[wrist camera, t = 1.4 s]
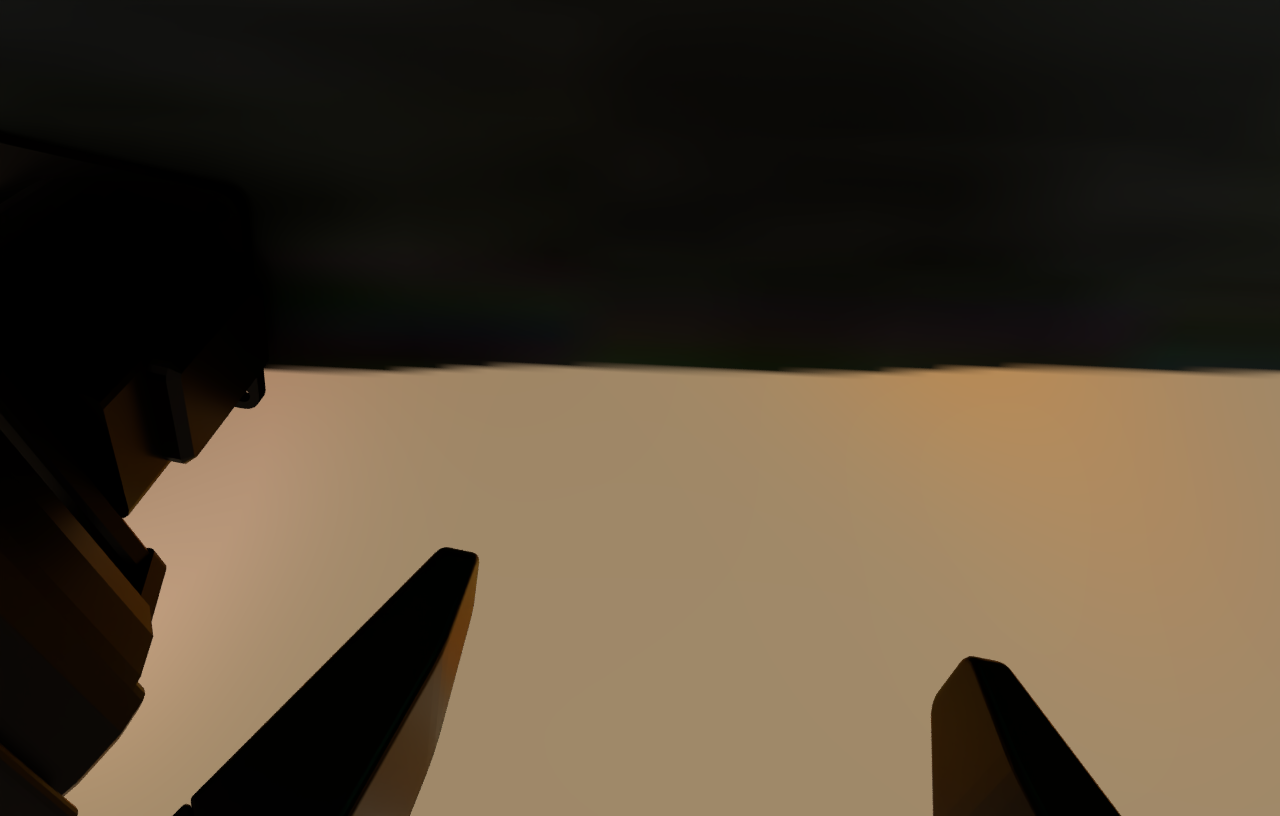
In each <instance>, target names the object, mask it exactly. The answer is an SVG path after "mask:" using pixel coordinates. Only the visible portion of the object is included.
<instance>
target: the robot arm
mask: <svg viewBox="0 0 1280 816" xmlns="http://www.w3.org/2000/svg"><path fill="white" fill-rule="evenodd" d="M216 201H218V202H220V203H223V204H224V205H225V206H226V207H227V208H228V211H229V213H230V214H227V213H225V212H223V211H221V210H220V209H219V208H218V207H217V204H216ZM268 361H269V354H268V344H267V333H266V322H265V311H264V300H263V289H262V284H261V282H260V280H259V279H258V277H257V275H256V274H254V266H253V256H252V246H251V236H250V226H249V215H248V207H247V204H246V201H245V199H244V198H243V197H242V195H241V194H240V193H239V192H238V191H237V190H235V189H234V188H233V187H230V186H228V185H225V184H222V183H217V182H213V181H208V180H204V179H199V178H195V177H191V176H186V175H182V174H177V173H173V172H168V171H164V170H160V169H155V168H151V167H146V166H142V165H137V164H133V163H128V162H124V161H120V160H115V159H111V158H106V157H102V156H97V155H93V154H89V153H84V152H80V151H75V150H71V149H66V148H62V147H58V146H53V145H49V144H44V143H40V142H35V141H31V140H26V139H22V138H18V137H13V136H9V135H4V134H0V816H77V815H78V810H77V808H76V807H75V806H74V805H73V804H71V803H70V802H69V801H68V800H67V799H66V798H64V796H65V795H66V794H67V793H68V792H69V791H70V790H72V789H73V788H74V787H75V786H76V785H77V784H78V783H79V782H80V781H81V780H82V779H83V778H84V777H85V776H86V775H87V774H88V772H89V771H90V770H91V769H92V768H93V767H94V766H95V765H96V764H97V762H98V761H99V760H100V759H101V758H102V757H103V756H104V755H105V754H106V752H107V751H108V750H109V749H110V748H111V747H112V746H113V745H114V744H115V743H116V741H117V740H118V739H119V738H120V736H121V735H122V733H123V732H124V730H125V729H126V727H127V726H128V724H129V723H130V721H131V720H132V718H133V717H134V715H135V714H136V712H137V711H138V709H139V707H140V705H141V703H142V701H143V699H144V696H145V691H144V688H143V687H142V686H141V685H140V684H139V683H138V680H139V678H140V677H141V674H142V670H143V667H144V664H145V661H146V658H147V654H148V651H149V648H150V645H151V641H152V638H153V631H152V623H151V621H152V618H153V614H154V611H155V607H156V604H157V600H158V596H159V593H160V589H161V585H162V582H163V579H164V575H165V572H166V565H165V564H164V562H163V561H162V560H161V559H160V557H159V556H158V555H157V553H156V552H155V551H154V550H153V549H152V548H146V547H145V546H144V545H143V543H142V542H141V541H140V540H139V538H138V537H137V536H136V535H135V533H134V532H133V531H132V530H131V528H130V527H129V526H128V525H127V523H126V522H125V521H124V520H123V519H122V518H125V517H126V516H128V515H129V514H130V512H131V511H132V510H133V509H134V507H135V506H136V505H137V504H138V503H139V501H140V500H141V499H142V497H143V496H144V495H145V494H146V492H147V491H148V490H149V489H150V487H151V486H152V484H153V483H154V482H155V481H156V479H157V478H158V477H159V476H160V474H161V473H162V472H163V471H164V469H165V468H166V467H167V466H168V464H169V463H170V462H171V461H173V462H178V463H183V464H184V463H185V464H186V463H188V462H189V461H191V460H192V459H194V458H195V457H197V456H198V454H199V453H200V452H201V450H202V449H203V448H204V446H205V445H206V444H207V442H208V441H209V440H210V439H211V437H212V436H213V435H214V433H215V432H216V430H217V429H218V428H219V427H220V425H221V424H222V423H223V421H224V420H225V419H226V417H227V416H228V415H229V413H230V412H231V411H232V409H233V408H234V407H238V408H244V409H250V408H253V407H255V406H256V405H257V404H258V403H259V402H260V400H261V399H262V398H263V396H264V395H265V390H266V389H265V379H264V367H265V366H266V364H267V363H268ZM246 391H248V392H249V393H247V392H246ZM478 566H479V558H478V556H477V555H476V554H475V553H473V552H468V551H463V550H458V549H453V548H449V547H444V548H441V549H439V550H438V551H437V552H436V553H434V554H433V556H432V557H430V558H429V559H428V561H427V562H426V563H424V565H422V566H421V568H419V570H417V571H416V572H415V573H414V574H413V576H412V577H411V578H409V579H408V580H407V582H406V583H405V584H404V585H403V586H402V587H401V588H400V589H399V590H398V591H397V592H396V593H395V594H394V595H393V596H392V597H391V598H390V599H389V600H388V601H387V602H386V603H385V604H384V605H383V606H382V607H381V608H380V609H379V610H378V611H377V612H376V613H375V614H374V615H373V616H372V617H371V618H370V619H369V620H368V621H367V622H366V623H365V624H364V625H363V626H362V627H361V628H360V629H359V630H358V631H357V632H356V633H355V634H354V635H353V636H352V637H351V638H350V639H349V640H348V641H347V642H346V643H345V644H344V645H343V646H342V647H341V648H340V649H339V650H338V651H337V652H336V653H335V654H334V655H333V656H332V657H331V658H330V659H329V660H328V661H327V662H326V663H325V664H324V665H323V666H322V667H321V668H320V669H319V670H318V671H317V672H316V673H315V674H314V675H313V676H312V677H311V678H310V679H309V680H308V681H307V682H306V683H305V684H304V685H303V686H302V687H301V688H300V689H299V690H298V691H297V692H296V693H295V694H294V695H293V696H292V697H291V698H290V699H289V700H288V701H287V702H286V703H285V704H284V705H283V706H282V707H281V708H280V709H279V710H278V711H277V712H276V713H275V714H274V715H273V716H272V717H271V718H270V719H269V720H268V721H267V722H266V723H265V724H264V725H263V726H262V727H261V728H260V729H259V730H258V731H257V732H256V733H255V734H254V735H253V736H252V737H251V738H250V739H249V740H248V741H247V742H246V743H245V744H244V745H243V746H242V747H241V748H240V749H239V750H238V751H237V752H236V753H235V754H234V755H233V756H232V757H231V758H230V759H229V760H228V761H227V762H226V763H225V764H224V765H223V766H222V767H221V768H220V769H219V770H218V771H217V772H216V773H215V774H214V775H213V776H212V777H211V778H210V779H209V780H208V781H207V782H206V783H205V784H204V785H203V786H202V787H201V788H200V789H199V790H198V791H197V792H196V793H195V794H194V795H193V796H192V798H191V806H190V805H188V804H185V805H183V806H182V807H181V808H180V809H179V810H178V811H177V812H176V813H175V814H174V815H173V816H410V814H411V811H412V809H413V806H414V804H415V801H416V799H417V796H418V794H419V791H420V789H421V786H422V784H423V781H424V779H425V776H426V774H427V771H428V768H429V766H430V763H431V760H432V757H433V755H434V752H435V748H436V745H437V742H438V738H439V735H440V732H441V728H442V724H443V721H444V717H445V713H446V709H447V706H448V701H449V698H450V694H451V690H452V687H453V683H454V680H455V676H456V672H457V668H458V664H459V661H460V657H461V653H462V650H463V646H464V642H465V638H466V635H467V631H468V627H469V624H470V620H471V616H472V611H473V606H474V599H475V591H476V583H477V575H478ZM931 733H932V736H931V737H932V786H933V816H1121V815H1120V814H1119V813H1118V811H1117V810H1116V808H1115V807H1114V806H1113V804H1112V803H1111V802H1110V800H1109V799H1108V798H1107V796H1106V795H1105V794H1104V793H1103V791H1102V790H1101V789H1100V787H1099V786H1098V784H1097V783H1096V782H1095V780H1094V779H1093V778H1092V777H1091V775H1090V774H1089V773H1088V771H1087V770H1086V769H1085V767H1084V766H1083V765H1082V763H1081V762H1080V761H1079V759H1078V758H1077V757H1076V755H1075V754H1074V753H1073V751H1072V750H1071V749H1070V747H1069V746H1068V745H1067V744H1066V742H1065V741H1064V739H1063V738H1062V737H1061V736H1060V734H1059V733H1058V732H1057V730H1056V729H1055V728H1054V726H1053V725H1052V724H1051V722H1050V721H1049V720H1048V718H1047V717H1046V716H1045V714H1044V713H1043V712H1042V710H1041V709H1040V708H1039V706H1038V705H1037V704H1036V702H1035V701H1034V700H1033V698H1032V697H1031V696H1030V695H1029V693H1028V692H1027V691H1026V689H1025V688H1024V687H1023V685H1022V684H1021V683H1020V681H1019V680H1018V679H1017V678H1016V676H1015V675H1014V674H1013V672H1012V671H1011V670H1010V669H1009V668H1008V667H1007V666H1006V665H1005V664H1003V663H1001V662H998V661H994V660H989V659H984V658H979V657H974V656H969V657H967V658H965V659H963V660H962V661H961V662H960V663H959V665H958V666H957V668H956V669H955V670H954V671H953V673H952V674H951V675H950V677H949V678H948V679H947V681H946V682H945V683H944V685H943V686H942V687H941V689H940V690H939V691H938V693H937V695H936V696H935V699H934V701H933V705H932V711H931ZM191 807H192V808H191Z"/></svg>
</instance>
